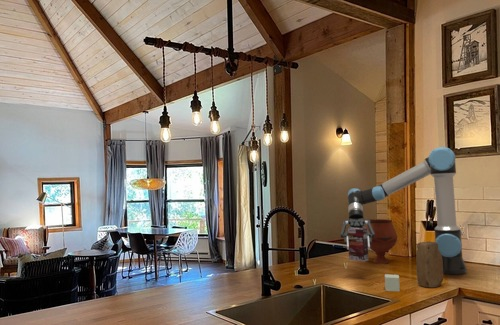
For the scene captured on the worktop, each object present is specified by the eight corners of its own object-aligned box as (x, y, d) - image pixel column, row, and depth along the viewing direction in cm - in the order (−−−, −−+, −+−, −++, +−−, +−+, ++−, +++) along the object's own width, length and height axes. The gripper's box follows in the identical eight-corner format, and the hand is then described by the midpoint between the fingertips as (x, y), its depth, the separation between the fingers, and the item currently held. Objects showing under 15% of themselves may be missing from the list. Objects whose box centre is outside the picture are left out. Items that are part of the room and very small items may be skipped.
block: (426, 288, 185) (424, 244, 186) (415, 284, 192) (413, 241, 193) (446, 286, 188) (444, 242, 189) (434, 282, 196) (432, 240, 196)
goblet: (359, 259, 253) (357, 219, 254) (389, 258, 255) (387, 217, 256) (371, 266, 234) (369, 222, 235) (403, 264, 236) (402, 221, 237)
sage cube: (399, 288, 188) (398, 274, 188) (399, 291, 182) (399, 277, 182) (385, 287, 190) (384, 274, 190) (385, 290, 184) (384, 277, 184)
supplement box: (348, 260, 208) (347, 228, 209) (353, 258, 212) (351, 227, 213) (364, 261, 202) (362, 229, 203) (369, 260, 206) (367, 228, 207)
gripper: (377, 217, 221) (381, 252, 204) (335, 218, 225) (336, 252, 209) (377, 208, 216) (382, 243, 199) (334, 209, 220) (335, 243, 204)
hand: (358, 248), depth 204 cm, fingers closed on supplement box, 9 cm apart
